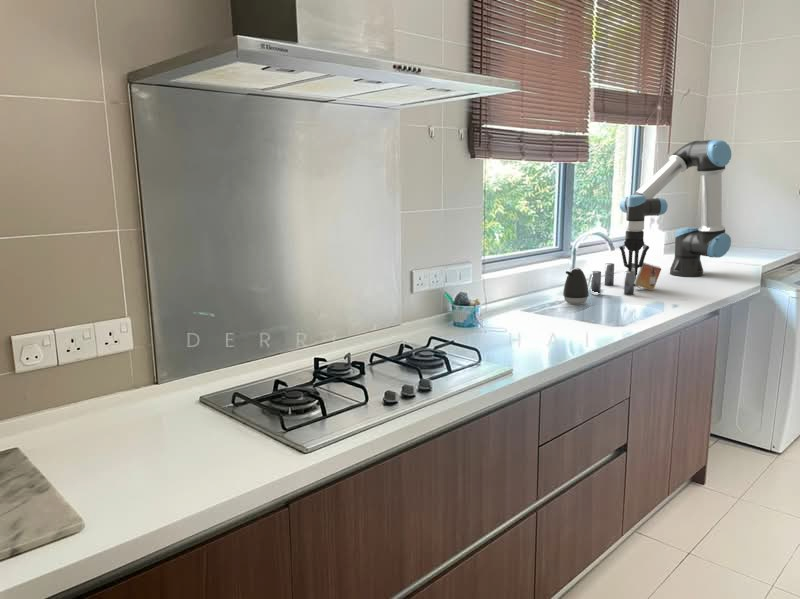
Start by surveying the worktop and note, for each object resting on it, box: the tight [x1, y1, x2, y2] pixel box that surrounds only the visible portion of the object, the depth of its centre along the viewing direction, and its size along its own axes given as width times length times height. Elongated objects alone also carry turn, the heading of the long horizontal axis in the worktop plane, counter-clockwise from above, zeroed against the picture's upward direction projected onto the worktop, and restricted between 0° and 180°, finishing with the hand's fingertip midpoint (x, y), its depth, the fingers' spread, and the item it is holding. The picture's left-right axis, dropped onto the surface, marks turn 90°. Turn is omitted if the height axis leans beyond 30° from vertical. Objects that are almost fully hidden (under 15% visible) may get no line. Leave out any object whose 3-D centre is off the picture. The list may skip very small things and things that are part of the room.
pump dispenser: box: [562, 267, 590, 306], centre depth 265 cm, size 10×10×15 cm
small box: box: [634, 262, 662, 291], centre depth 286 cm, size 8×6×10 cm
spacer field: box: [590, 262, 637, 296], centre depth 289 cm, size 22×24×10 cm
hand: (632, 282), depth 288 cm, fingers closed
